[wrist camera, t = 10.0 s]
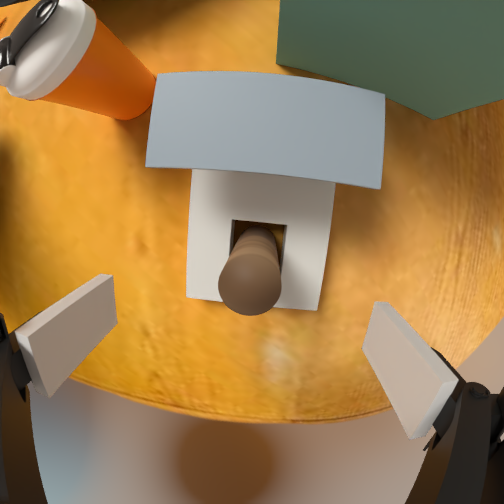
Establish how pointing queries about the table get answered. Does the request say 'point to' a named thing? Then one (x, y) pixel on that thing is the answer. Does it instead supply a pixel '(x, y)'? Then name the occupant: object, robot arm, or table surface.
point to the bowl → (9, 2)
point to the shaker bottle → (74, 62)
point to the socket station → (264, 165)
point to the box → (401, 48)
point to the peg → (251, 273)
